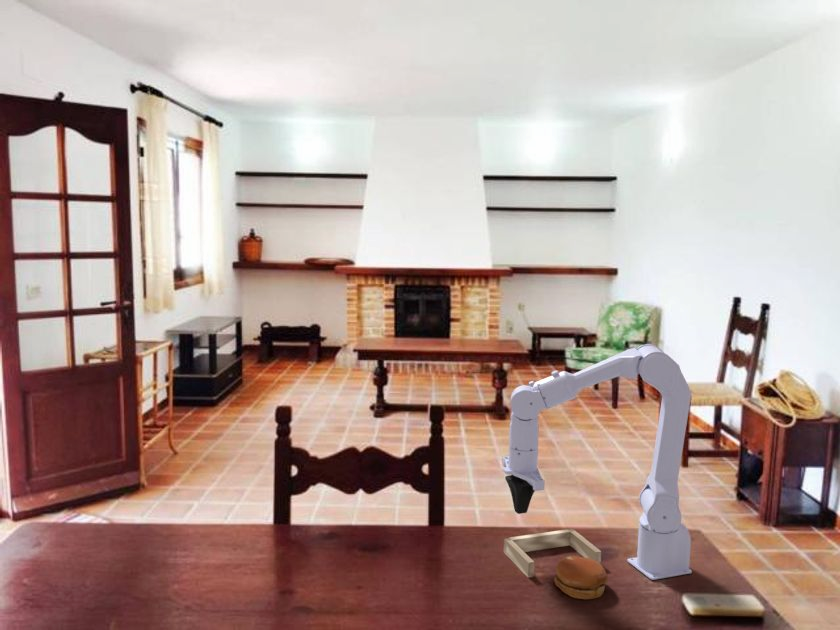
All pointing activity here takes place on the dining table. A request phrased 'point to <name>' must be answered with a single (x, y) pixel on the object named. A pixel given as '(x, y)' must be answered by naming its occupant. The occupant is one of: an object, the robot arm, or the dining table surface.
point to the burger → (580, 577)
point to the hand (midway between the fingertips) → (520, 512)
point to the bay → (546, 547)
